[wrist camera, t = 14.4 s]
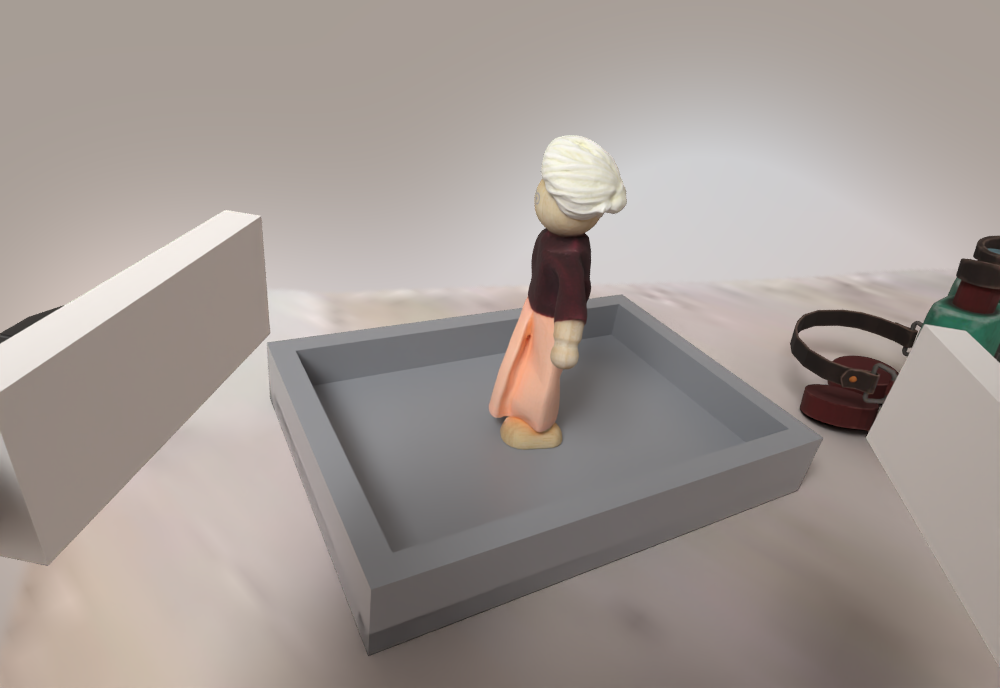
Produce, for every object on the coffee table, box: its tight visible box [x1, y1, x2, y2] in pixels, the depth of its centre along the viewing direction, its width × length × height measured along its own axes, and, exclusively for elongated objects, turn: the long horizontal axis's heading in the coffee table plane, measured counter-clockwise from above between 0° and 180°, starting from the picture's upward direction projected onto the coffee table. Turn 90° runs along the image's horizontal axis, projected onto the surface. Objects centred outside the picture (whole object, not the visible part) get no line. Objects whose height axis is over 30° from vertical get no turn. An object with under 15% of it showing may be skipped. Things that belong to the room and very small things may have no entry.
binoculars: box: [790, 236, 1000, 431], centre depth 33 cm, size 9×11×10 cm
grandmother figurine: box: [489, 135, 627, 450], centre depth 25 cm, size 8×4×13 cm, turn 11°
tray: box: [267, 295, 823, 656], centre depth 28 cm, size 20×14×3 cm
